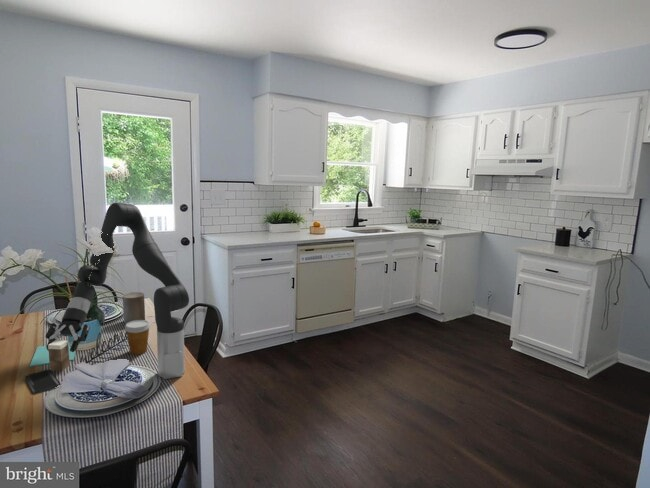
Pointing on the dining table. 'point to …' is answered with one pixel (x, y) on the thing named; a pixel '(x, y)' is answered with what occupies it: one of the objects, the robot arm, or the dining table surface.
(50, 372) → the phone
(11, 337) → the dining table surface
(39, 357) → the teal mat
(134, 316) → the pillar candle
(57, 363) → the walnut block
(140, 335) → the disposable coffee cup
